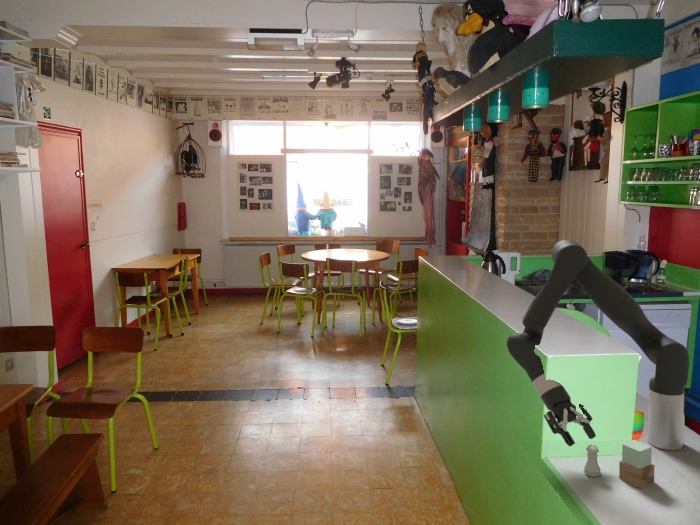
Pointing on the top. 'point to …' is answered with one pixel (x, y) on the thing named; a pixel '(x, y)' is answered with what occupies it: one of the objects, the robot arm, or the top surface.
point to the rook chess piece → (592, 462)
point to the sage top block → (636, 454)
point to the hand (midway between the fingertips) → (582, 441)
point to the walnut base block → (636, 474)
